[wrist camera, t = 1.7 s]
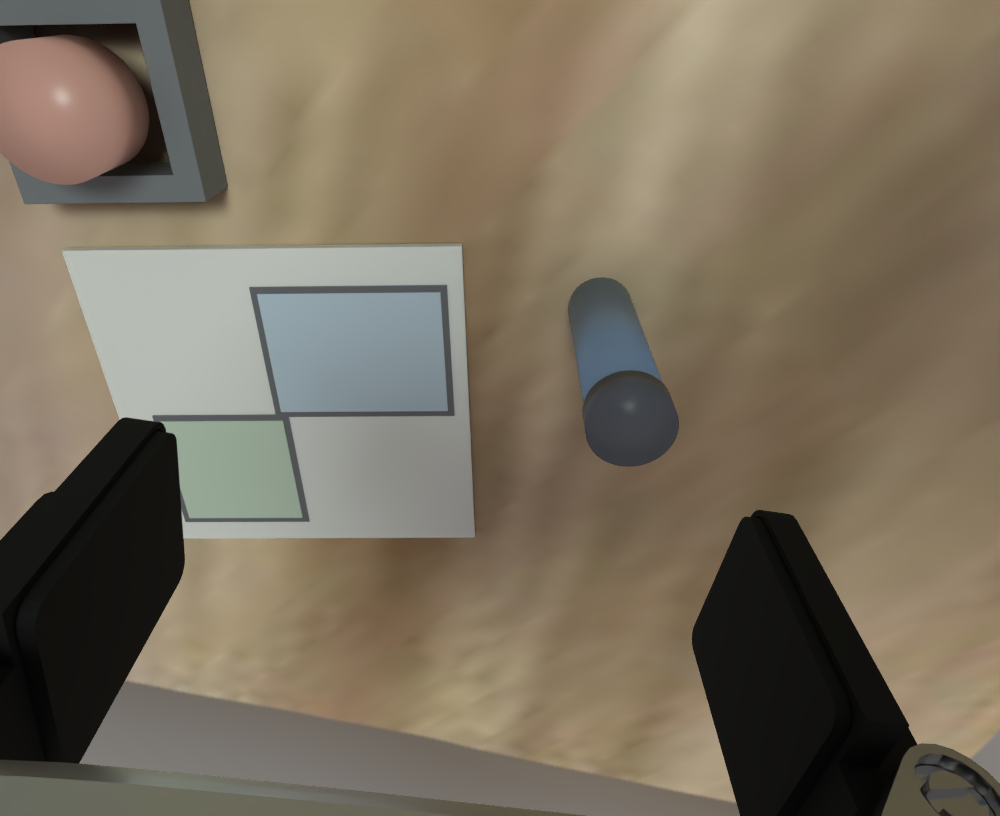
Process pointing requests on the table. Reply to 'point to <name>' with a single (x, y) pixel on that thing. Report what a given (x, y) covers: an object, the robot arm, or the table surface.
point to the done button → (68, 108)
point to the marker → (619, 377)
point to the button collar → (177, 92)
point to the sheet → (294, 382)
